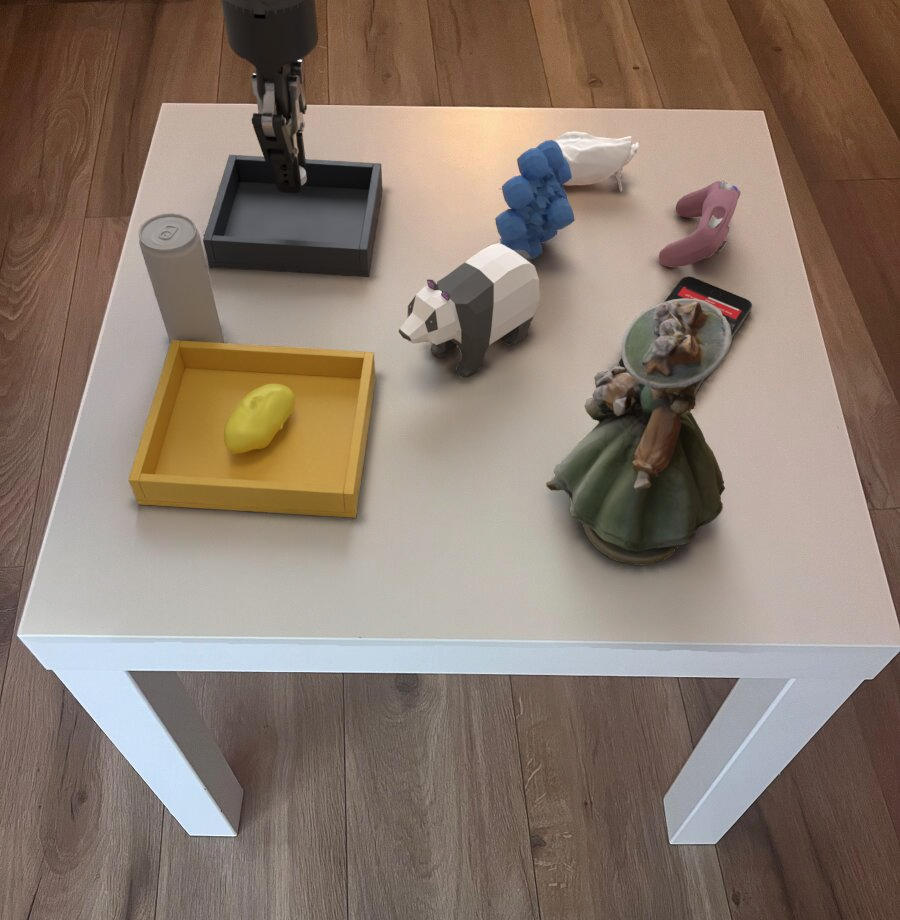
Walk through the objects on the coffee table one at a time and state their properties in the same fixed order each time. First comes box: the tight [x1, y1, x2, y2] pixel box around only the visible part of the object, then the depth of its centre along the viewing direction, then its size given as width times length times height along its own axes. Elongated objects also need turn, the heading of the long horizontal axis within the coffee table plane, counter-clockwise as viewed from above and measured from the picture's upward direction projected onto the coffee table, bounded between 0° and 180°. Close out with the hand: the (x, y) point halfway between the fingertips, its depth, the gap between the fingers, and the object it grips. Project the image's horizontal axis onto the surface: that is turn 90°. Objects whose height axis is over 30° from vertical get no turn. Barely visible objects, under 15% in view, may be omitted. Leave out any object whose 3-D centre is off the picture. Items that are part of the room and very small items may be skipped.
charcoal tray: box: [202, 154, 383, 278], centre depth 91 cm, size 16×14×3 cm
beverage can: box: [137, 213, 224, 345], centre depth 78 cm, size 5×5×12 cm
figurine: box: [545, 298, 733, 566], centre depth 67 cm, size 14×14×20 cm
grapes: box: [494, 139, 576, 261], centre depth 85 cm, size 12×7×12 cm, turn 147°
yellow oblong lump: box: [224, 384, 295, 454], centre depth 75 cm, size 4×8×4 cm, turn 145°
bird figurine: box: [554, 130, 640, 193], centre depth 95 cm, size 5×7×10 cm
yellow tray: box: [127, 340, 376, 519], centre depth 76 cm, size 18×16×3 cm
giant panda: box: [398, 242, 540, 379], centre depth 79 cm, size 15×6×10 cm, turn 133°
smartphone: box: [617, 275, 753, 393], centre depth 85 cm, size 7×1×15 cm
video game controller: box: [658, 178, 741, 268], centre depth 90 cm, size 10×5×7 cm, turn 161°
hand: (292, 179), depth 88 cm, fingers closed on chess pawn, 2 cm apart
